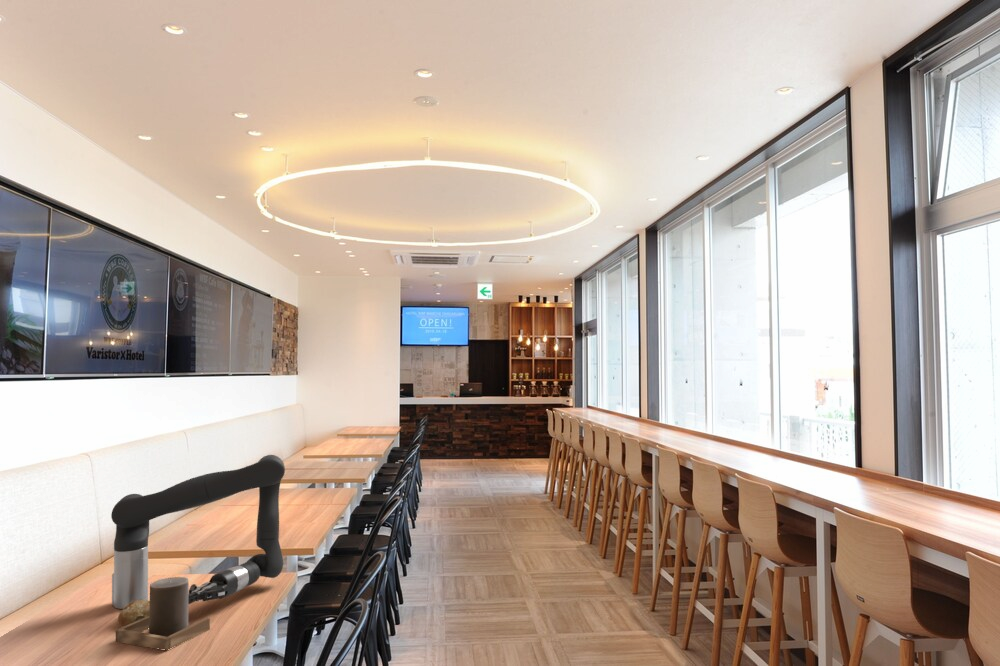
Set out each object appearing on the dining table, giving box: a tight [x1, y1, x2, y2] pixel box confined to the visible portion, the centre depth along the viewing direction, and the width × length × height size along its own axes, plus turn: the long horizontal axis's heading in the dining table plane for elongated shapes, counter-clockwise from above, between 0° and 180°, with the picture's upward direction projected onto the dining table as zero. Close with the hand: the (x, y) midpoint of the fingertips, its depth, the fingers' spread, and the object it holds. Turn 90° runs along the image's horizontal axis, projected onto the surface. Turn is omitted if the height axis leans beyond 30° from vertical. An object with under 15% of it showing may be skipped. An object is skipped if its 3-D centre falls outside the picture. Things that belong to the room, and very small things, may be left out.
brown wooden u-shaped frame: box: [115, 616, 211, 651], centre depth 177 cm, size 18×14×3 cm
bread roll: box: [117, 600, 150, 628], centre depth 187 cm, size 10×10×8 cm
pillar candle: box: [148, 576, 190, 637], centre depth 180 cm, size 10×10×15 cm
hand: (183, 601), depth 184 cm, fingers closed
